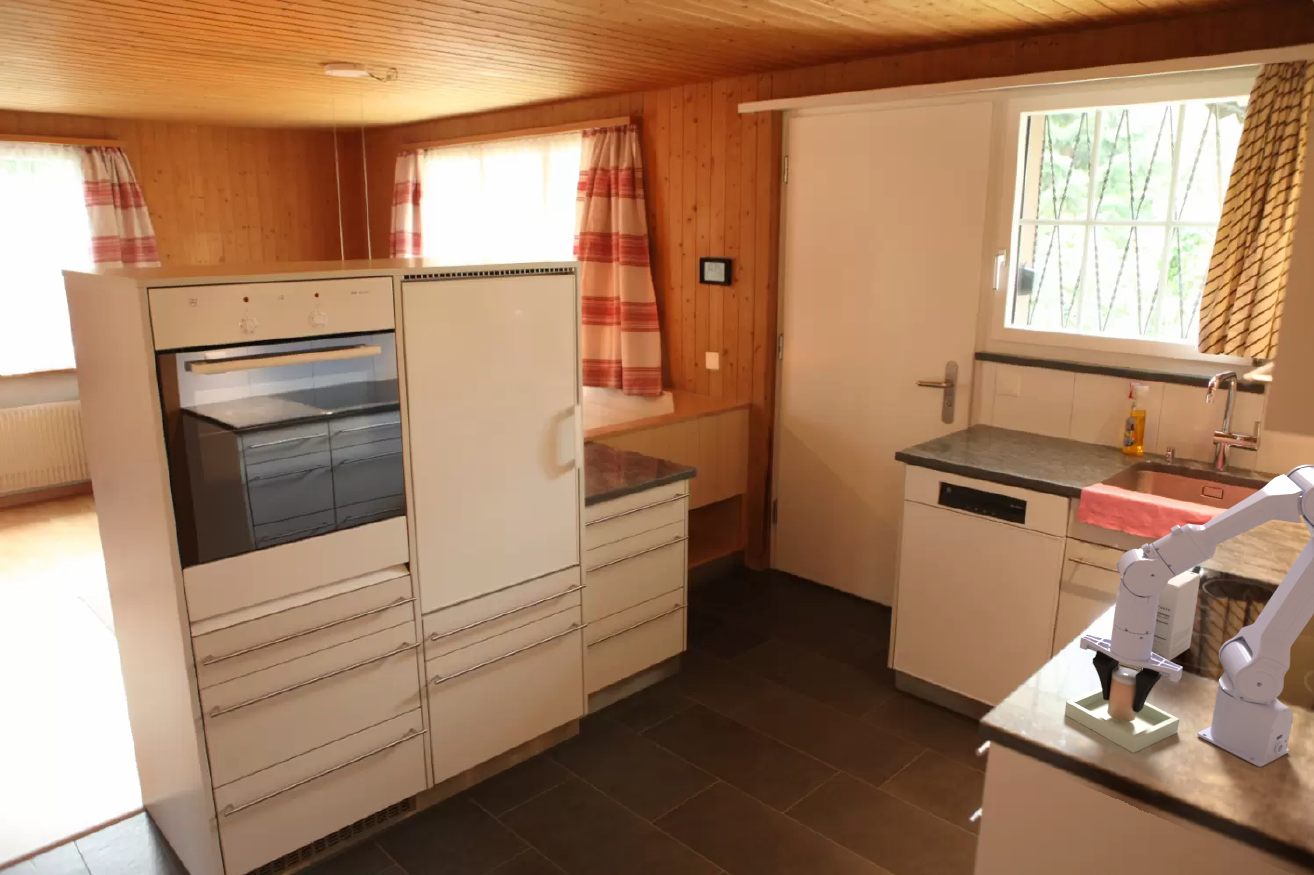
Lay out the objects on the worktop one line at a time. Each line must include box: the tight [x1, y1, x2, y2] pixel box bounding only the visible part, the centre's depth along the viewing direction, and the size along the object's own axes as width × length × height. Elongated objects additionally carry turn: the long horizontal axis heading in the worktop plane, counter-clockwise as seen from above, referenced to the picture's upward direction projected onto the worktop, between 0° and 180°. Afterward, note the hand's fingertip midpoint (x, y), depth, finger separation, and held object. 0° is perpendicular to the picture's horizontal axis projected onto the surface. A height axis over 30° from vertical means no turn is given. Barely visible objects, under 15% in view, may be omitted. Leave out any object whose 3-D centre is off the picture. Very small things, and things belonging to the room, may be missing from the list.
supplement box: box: [1152, 570, 1201, 662], centre depth 165 cm, size 9×9×15 cm
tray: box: [1064, 687, 1180, 754], centre depth 142 cm, size 12×11×2 cm
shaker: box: [1107, 666, 1139, 722], centre depth 141 cm, size 4×4×7 cm
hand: (1122, 703), depth 142 cm, fingers closed on shaker, 4 cm apart
